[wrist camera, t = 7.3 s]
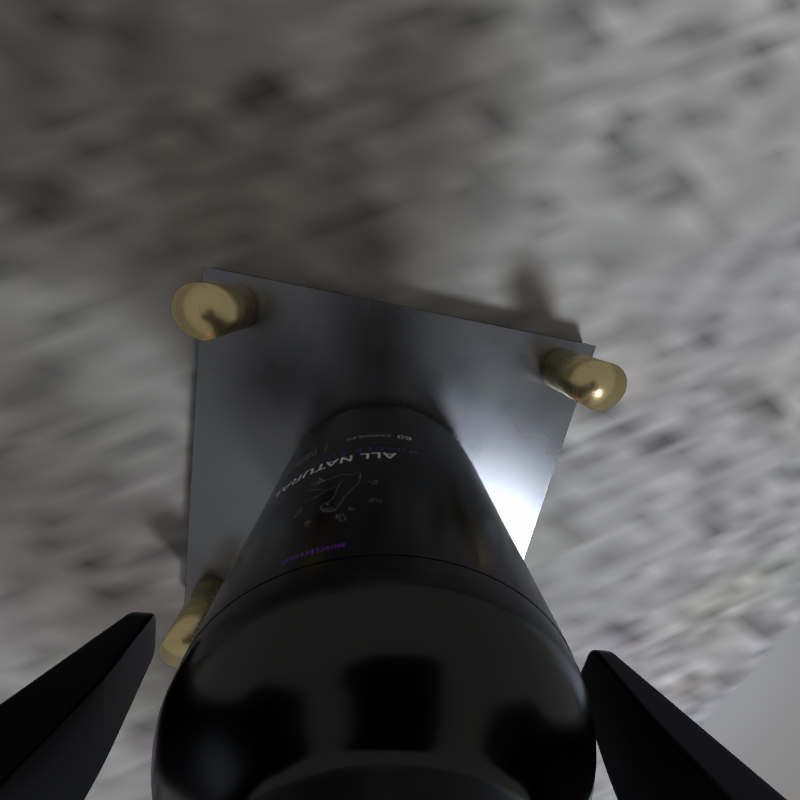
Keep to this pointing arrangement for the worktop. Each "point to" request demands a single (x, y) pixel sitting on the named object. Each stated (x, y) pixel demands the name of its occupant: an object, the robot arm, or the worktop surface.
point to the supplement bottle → (377, 641)
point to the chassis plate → (359, 403)
